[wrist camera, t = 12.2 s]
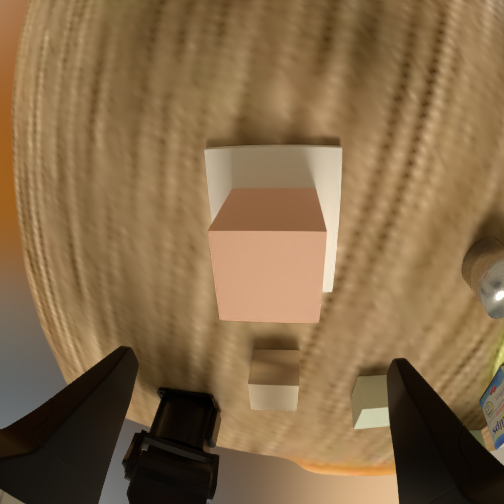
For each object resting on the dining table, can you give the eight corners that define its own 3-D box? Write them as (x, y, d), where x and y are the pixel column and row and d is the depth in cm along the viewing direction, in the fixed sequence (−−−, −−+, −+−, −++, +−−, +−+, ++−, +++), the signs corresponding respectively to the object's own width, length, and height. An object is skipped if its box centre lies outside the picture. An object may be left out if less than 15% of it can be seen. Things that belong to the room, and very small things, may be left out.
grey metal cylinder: (455, 285, 20) (478, 321, 17) (469, 236, 18) (499, 268, 14) (492, 283, 20) (516, 316, 16) (507, 238, 18) (537, 267, 14)
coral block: (237, 260, 21) (220, 319, 15) (232, 188, 18) (207, 230, 13) (312, 261, 20) (318, 322, 15) (315, 188, 18) (327, 231, 12)
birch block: (255, 375, 28) (250, 409, 24) (253, 348, 26) (247, 384, 22) (297, 376, 27) (296, 411, 24) (299, 349, 25) (298, 385, 22)
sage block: (350, 397, 29) (353, 429, 25) (357, 375, 27) (362, 409, 23) (385, 395, 28) (390, 425, 25) (395, 373, 26) (402, 405, 23)
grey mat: (222, 283, 23) (220, 289, 22) (207, 147, 18) (204, 149, 17) (330, 285, 22) (332, 292, 21) (340, 145, 17) (342, 147, 16)
